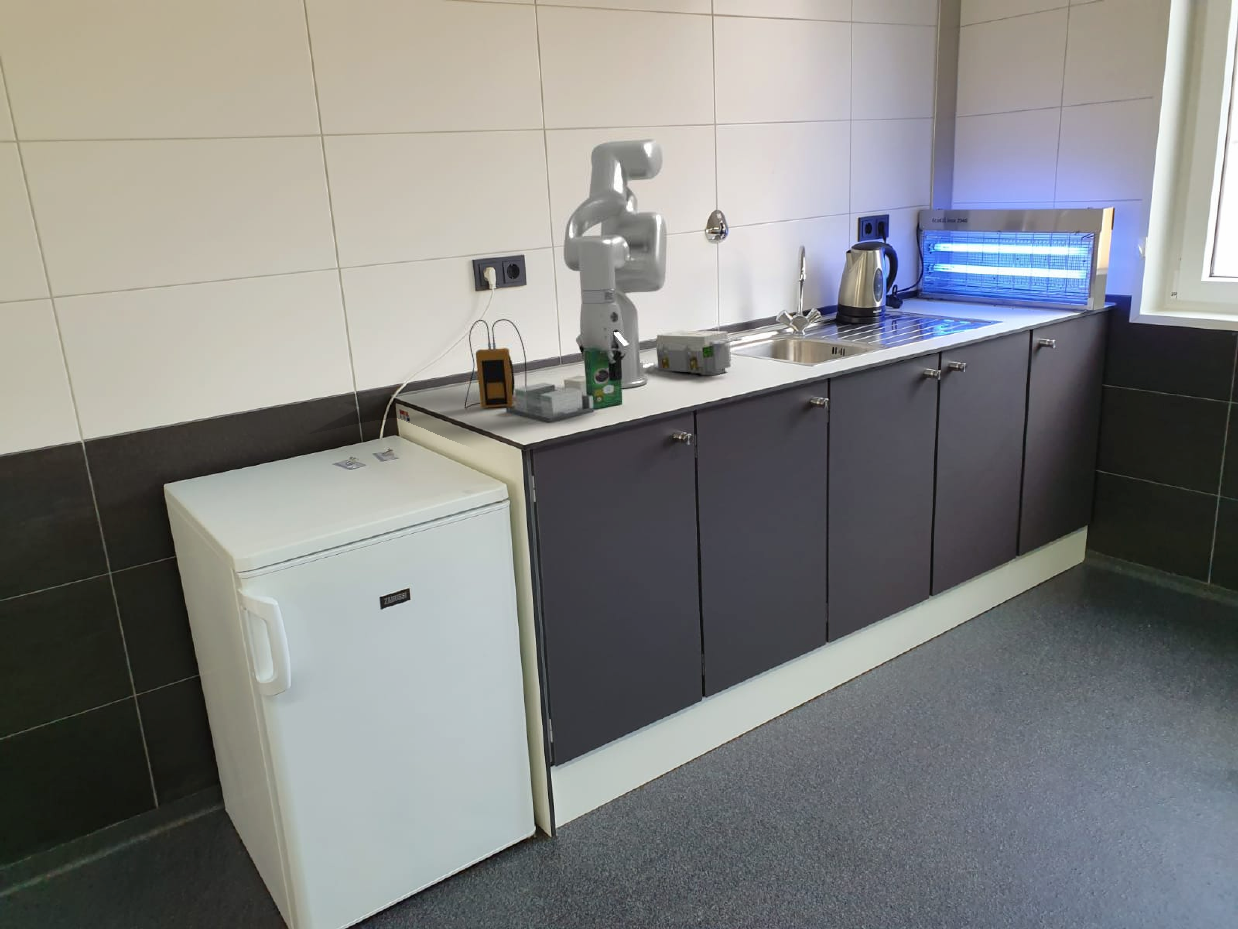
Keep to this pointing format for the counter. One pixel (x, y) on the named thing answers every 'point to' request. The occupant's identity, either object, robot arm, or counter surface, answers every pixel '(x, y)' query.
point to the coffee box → (601, 380)
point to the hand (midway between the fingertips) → (603, 377)
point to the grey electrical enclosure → (694, 351)
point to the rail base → (550, 402)
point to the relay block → (576, 383)
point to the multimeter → (495, 374)
